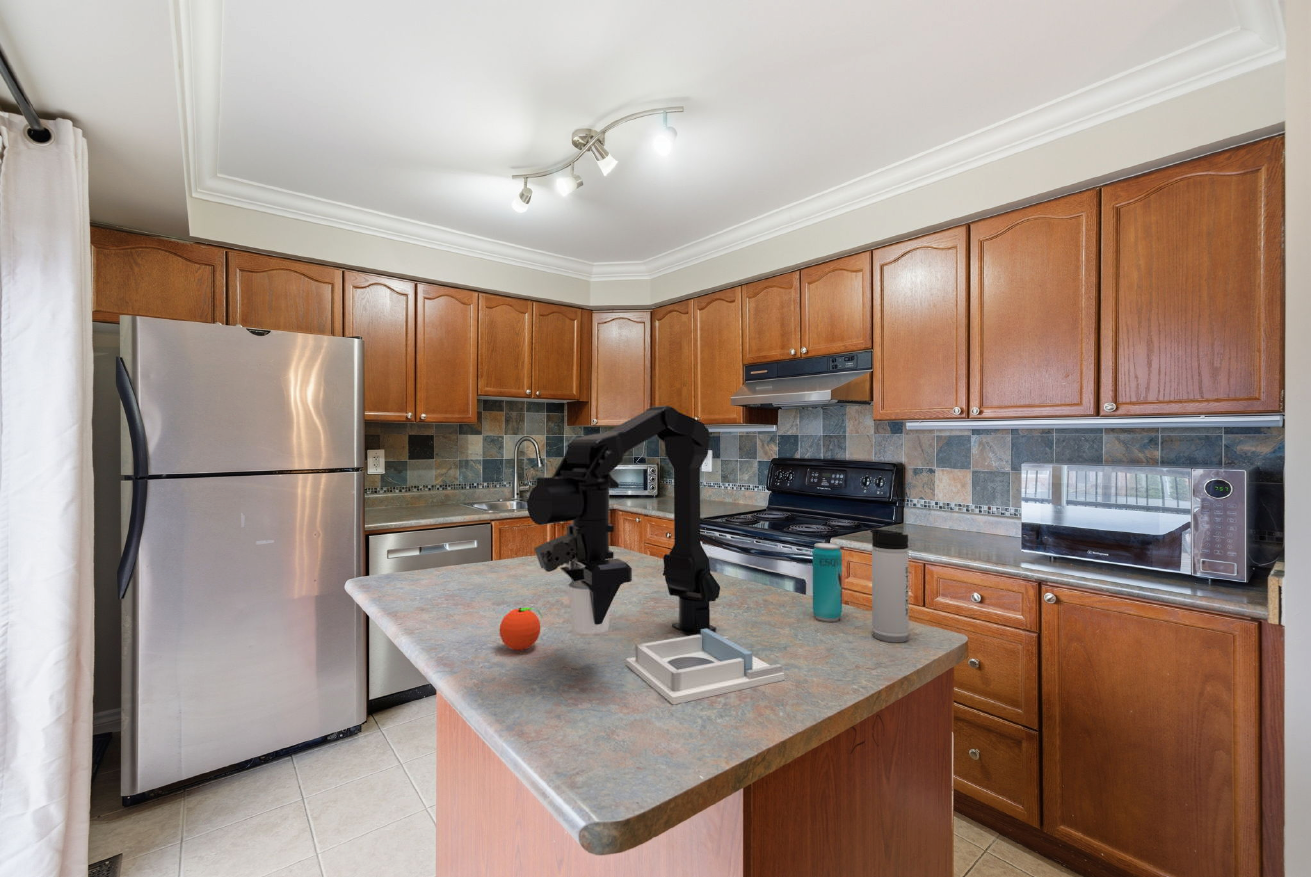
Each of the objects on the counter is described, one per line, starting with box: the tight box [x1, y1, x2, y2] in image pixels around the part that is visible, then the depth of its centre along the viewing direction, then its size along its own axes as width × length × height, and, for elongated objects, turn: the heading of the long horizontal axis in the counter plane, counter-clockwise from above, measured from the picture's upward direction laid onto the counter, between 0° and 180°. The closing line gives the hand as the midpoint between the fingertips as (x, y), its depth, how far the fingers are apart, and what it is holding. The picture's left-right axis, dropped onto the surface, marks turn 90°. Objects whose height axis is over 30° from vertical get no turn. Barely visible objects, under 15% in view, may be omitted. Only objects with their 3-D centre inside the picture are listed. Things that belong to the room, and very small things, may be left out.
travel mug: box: [870, 527, 910, 644], centre depth 107 cm, size 6×7×20 cm
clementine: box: [498, 607, 543, 651], centre depth 101 cm, size 8×7×7 cm
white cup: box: [567, 580, 612, 635], centre depth 91 cm, size 7×7×7 cm
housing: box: [625, 634, 785, 705], centre depth 90 cm, size 16×19×4 cm
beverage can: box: [812, 542, 843, 623], centre depth 119 cm, size 6×6×15 cm
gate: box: [700, 629, 754, 676], centre depth 92 cm, size 13×1×3 cm, turn 27°
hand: (590, 618), depth 91 cm, fingers closed on white cup, 6 cm apart
